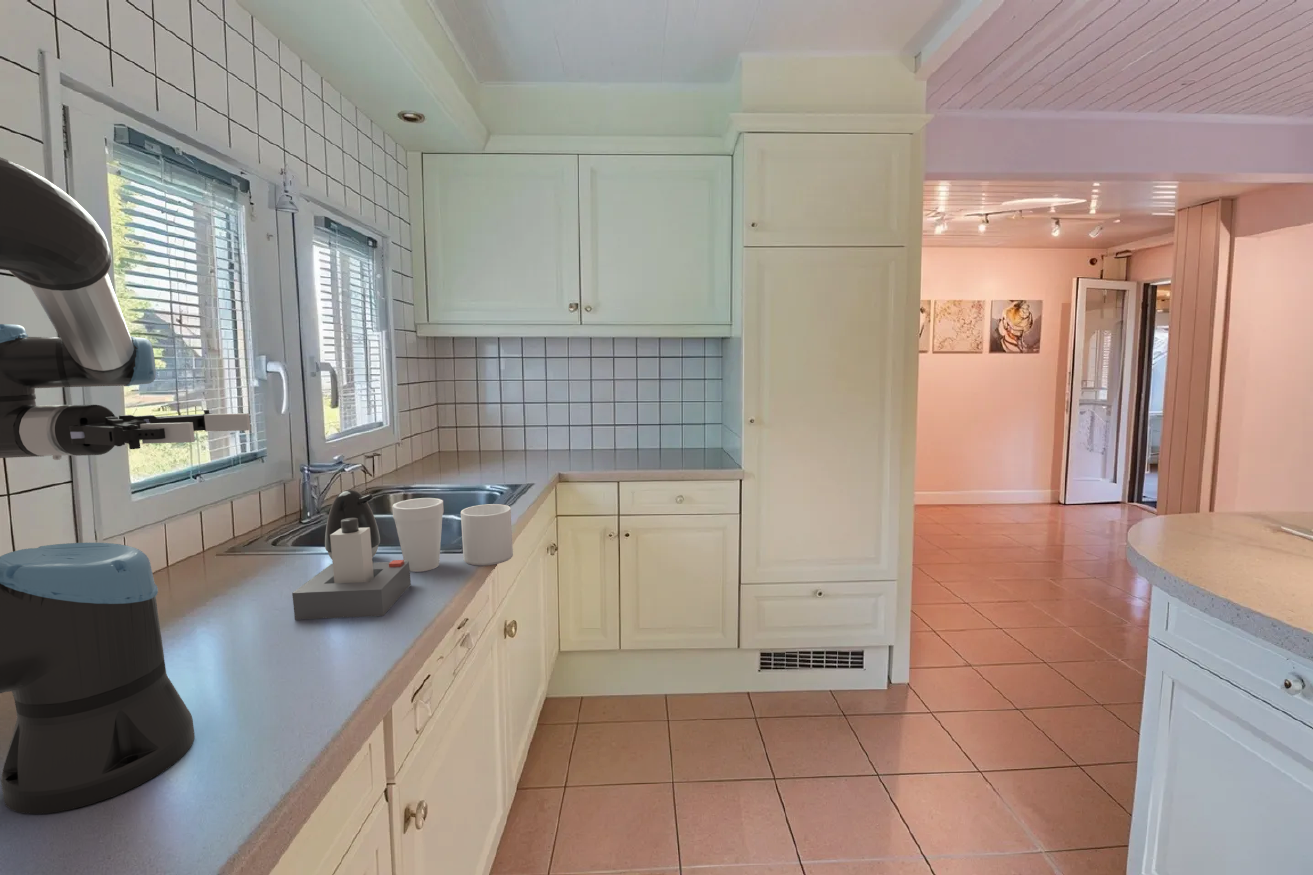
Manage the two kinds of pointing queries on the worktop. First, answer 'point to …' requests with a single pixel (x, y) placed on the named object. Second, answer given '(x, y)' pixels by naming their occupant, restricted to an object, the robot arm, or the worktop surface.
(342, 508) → the pump dispenser
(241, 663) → the worktop surface
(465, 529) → the mug
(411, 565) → the foam cup
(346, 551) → the plug
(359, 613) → the socket
